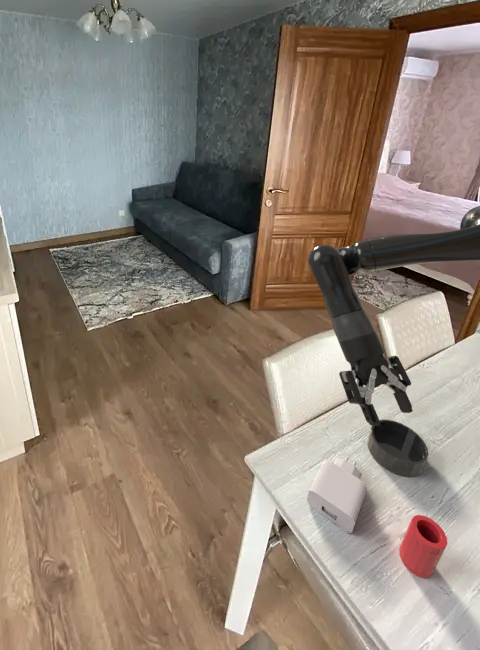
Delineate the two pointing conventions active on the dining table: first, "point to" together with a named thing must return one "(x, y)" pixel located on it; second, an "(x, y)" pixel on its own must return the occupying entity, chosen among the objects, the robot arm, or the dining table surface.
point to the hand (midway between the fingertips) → (391, 418)
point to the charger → (338, 493)
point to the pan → (397, 448)
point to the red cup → (422, 546)
